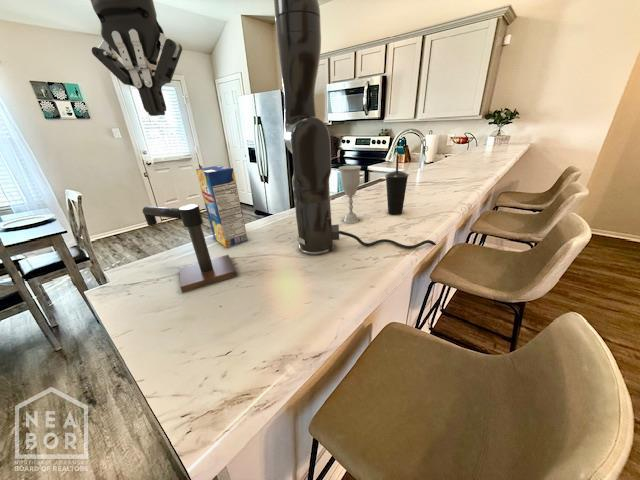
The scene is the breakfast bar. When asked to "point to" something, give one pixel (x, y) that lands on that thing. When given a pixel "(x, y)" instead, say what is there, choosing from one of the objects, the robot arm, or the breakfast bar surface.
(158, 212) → the spout
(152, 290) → the breakfast bar surface
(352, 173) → the chalice
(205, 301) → the breakfast bar surface
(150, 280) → the breakfast bar surface
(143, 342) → the breakfast bar surface
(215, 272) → the base
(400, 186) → the drinking cup
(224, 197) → the blue and yellow box
